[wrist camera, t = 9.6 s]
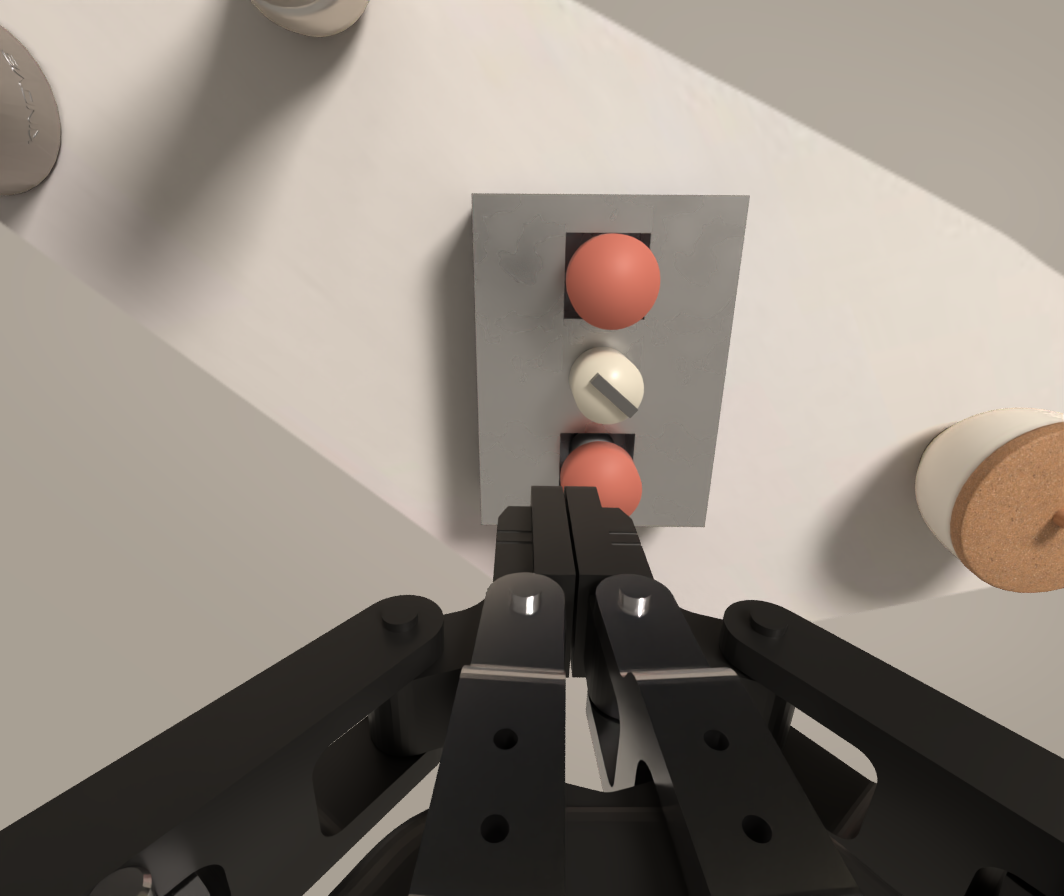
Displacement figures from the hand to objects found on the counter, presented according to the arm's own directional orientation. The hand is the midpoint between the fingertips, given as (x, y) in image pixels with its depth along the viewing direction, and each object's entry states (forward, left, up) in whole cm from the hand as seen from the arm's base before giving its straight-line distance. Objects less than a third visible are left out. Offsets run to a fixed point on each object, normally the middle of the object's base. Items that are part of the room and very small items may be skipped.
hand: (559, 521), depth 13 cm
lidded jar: (+29, -9, -25) cm, 39 cm away
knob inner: (+3, +4, -22) cm, 23 cm away
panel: (+3, -2, -25) cm, 25 cm away
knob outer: (+3, -7, -22) cm, 24 cm away
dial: (+3, -2, -20) cm, 20 cm away
